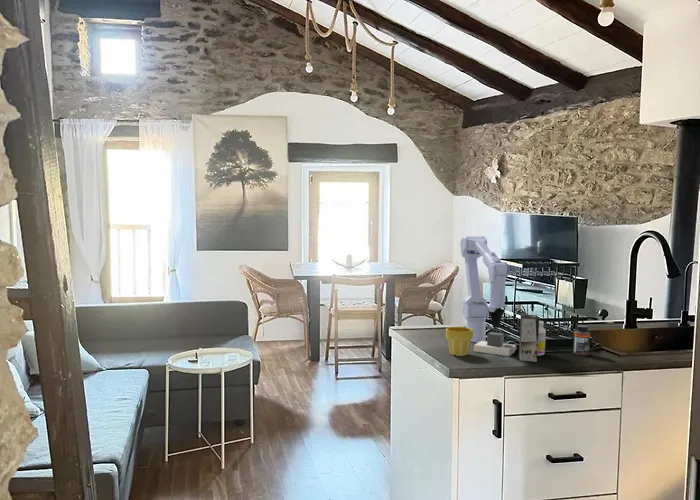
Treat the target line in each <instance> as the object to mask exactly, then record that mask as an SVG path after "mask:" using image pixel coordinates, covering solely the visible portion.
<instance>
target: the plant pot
mask: <svg viewBox="0 0 700 500" xmlns="http://www.w3.org/2000/svg"><path fill="white" fill-rule="evenodd" d="M445 338H446V339H447V344H448V350H449V354H450V355H452V356H454V355H456V356H455V357H466V356H468V354H469V350H470V346H471V343H472V342H471V339H472V338H473V330H472V329H470V328H466V327H465V326H451V327H446V328H445ZM465 355H466V356H465Z"/></svg>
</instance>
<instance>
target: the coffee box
mask: <svg viewBox="0 0 700 500" xmlns="http://www.w3.org/2000/svg"><path fill="white" fill-rule="evenodd" d="M539 321H540V318H539V316H538V315H537V314H520V323H519V324H520V326H519V345H518V346H519V349H518V356H519V357H518V358H519V360H520V361H523V362H534V363H535V362H536V363H537V361H538V356H537V351H538V333H539Z"/></svg>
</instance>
